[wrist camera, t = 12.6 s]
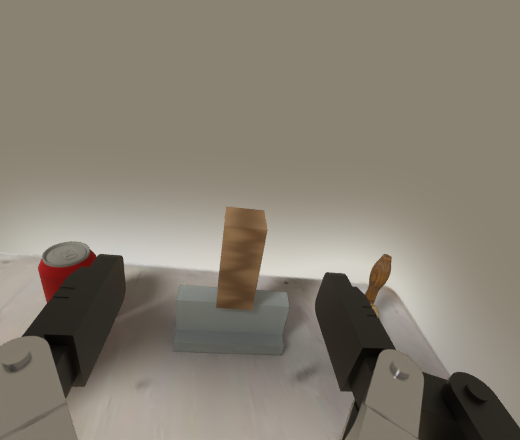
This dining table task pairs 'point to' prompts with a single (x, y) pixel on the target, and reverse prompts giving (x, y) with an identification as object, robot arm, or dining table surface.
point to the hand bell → (378, 278)
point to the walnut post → (241, 257)
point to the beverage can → (62, 264)
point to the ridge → (229, 323)
